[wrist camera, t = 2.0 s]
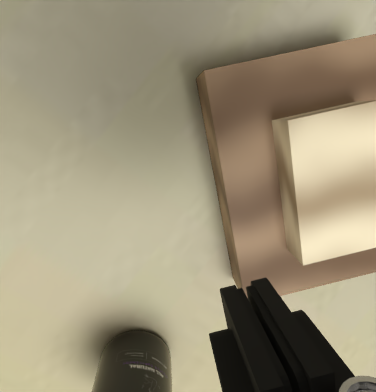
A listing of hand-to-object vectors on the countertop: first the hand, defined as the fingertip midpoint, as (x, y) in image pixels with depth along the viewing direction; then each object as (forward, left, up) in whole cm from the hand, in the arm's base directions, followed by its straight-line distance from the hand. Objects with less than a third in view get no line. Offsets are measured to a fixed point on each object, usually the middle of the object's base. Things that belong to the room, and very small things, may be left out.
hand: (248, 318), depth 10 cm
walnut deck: (-1, +8, -15) cm, 17 cm away
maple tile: (-1, +9, -10) cm, 13 cm away
